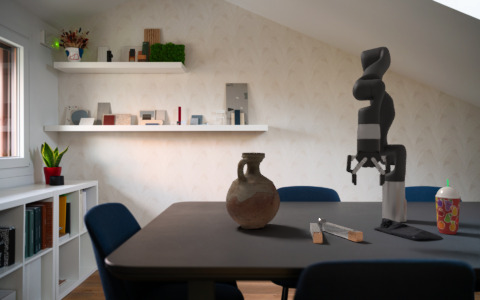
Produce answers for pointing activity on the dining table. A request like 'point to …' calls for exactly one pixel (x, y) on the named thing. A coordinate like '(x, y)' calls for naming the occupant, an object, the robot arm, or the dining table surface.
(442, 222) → the smoothie
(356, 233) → the tong arm
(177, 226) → the dining table surface
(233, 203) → the jug
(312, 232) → the base
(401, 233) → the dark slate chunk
